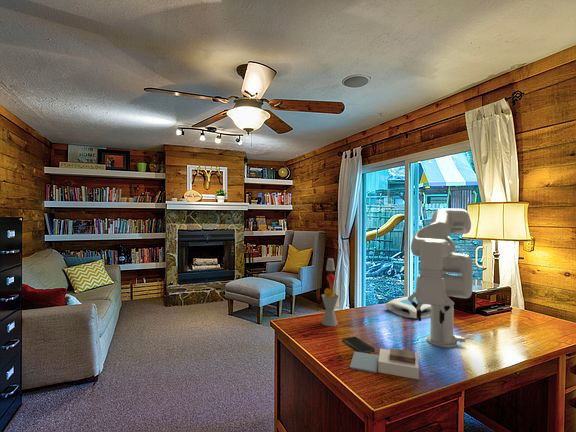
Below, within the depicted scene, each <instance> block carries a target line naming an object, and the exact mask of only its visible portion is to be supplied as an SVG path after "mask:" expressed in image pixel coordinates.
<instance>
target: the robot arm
mask: <svg viewBox="0 0 576 432" xmlns="http://www.w3.org/2000/svg"><path fill="white" fill-rule="evenodd" d="M429 221H430V222H429V224H427V225H426V226H423V227H422V228H419V229H418V230H417V231H416V232H414V235H413V238H412V241H411V245H410V251H411V253H412V254H413V256H415V257H419V275H417V277H416V282H415V283H416V284H415V291H414V292H413V293H412V294H410V295H409V297H408V300H409V302H410V303H411V304H412V305H413V306H414V307H415V308H416V310H417V318H416V319H418V322H421V321H422V318H421V314H422V311H421V309H420V308H421V306H422V304H429V305H431V316H430V332H429V333H430V334H429V335H427V336H426V341H427V342H428V343H429V344H431V345H434V346H437V347H440V348H449V349H450V348H455V347H457V346H458V342H460V343H466V338H465V337H461V335H456V334H454V315H455V313H454V311H455V309H454V305H455V301H453V300H452V299H451V298H450V297H454V298H459V299H469V298H470V297H472V294H473V278H474V276H473V273H474V272H473V270H474V268H473V267H474V264H473V258H472V257H471V256H470V255H469V254H466V253H458V252H457V253H456V244H455V242H454V240H453V239H452V237H451V236H449V235H451V234H455V235H457V234H458V235H466V234H468V233H470V231H471V228H472V221H471V217H470V213H468V211H467V210H465V209H464V208H439V209H437V210H436V211H434V213H433V214H432V217H431V219H430V220H429ZM451 274H455V275H451ZM458 275H459V276H458ZM415 297H416V301H417V302H418V303H417V304H416V303H415V302H414V301H413V298H415Z"/></svg>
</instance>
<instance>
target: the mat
mask: <svg viewBox="0 0 576 432" xmlns="http://www.w3.org/2000/svg"><path fill="white" fill-rule="evenodd" d="M378 361H379V355H378V354H373V353H361V352H357V351H353V355H352V359H351V362H350V365H349V369H352V370H358V371H363V372H367V373H368V372H369V373H373V374H377V373H378Z"/></svg>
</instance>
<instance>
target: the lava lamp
mask: <svg viewBox="0 0 576 432" xmlns="http://www.w3.org/2000/svg"><path fill="white" fill-rule="evenodd" d="M325 270H326V271H329V272H334V271H336V268H335V262H334V258H330V257H329V258H327V261H326V268H325ZM335 278H336V276H335V275H334V274H333V273H329V274H327V275H326V280H327V282H328V284H329V288H327V287H326V288H325V289H324V291H323V292H324V293H323V294H321V299H322V301H323V305H324V307H325V310H324V311H325V312H324V314H323V317H322V320H321V325H323V326H327V327H335V326H337V325H338V320H337V317H336V313H335V307H336V305H337V302H338V298H339V295H338V294H335V292H334V283H335Z"/></svg>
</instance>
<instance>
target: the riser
mask: <svg viewBox="0 0 576 432" xmlns="http://www.w3.org/2000/svg"><path fill="white" fill-rule="evenodd" d="M378 354H379V360H378V367H377V373H379V374H380V373H381V374H386V375H392V376H398V377H404V378H409V379H415V380H419V379H420V368H419V359H418V358H419V357H418V354H417V353H415V358H416V362H415V364H412V363H406V362H400V361H394V360H390V349H387V348H379V353H378Z"/></svg>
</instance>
